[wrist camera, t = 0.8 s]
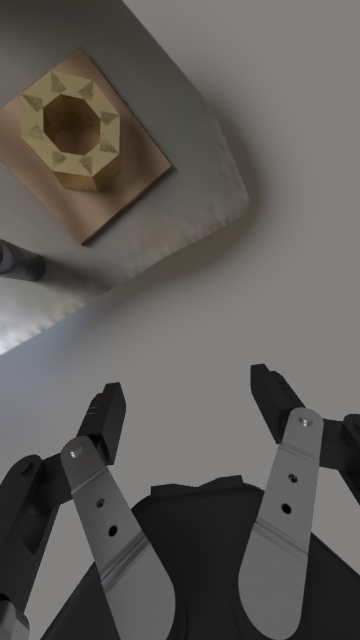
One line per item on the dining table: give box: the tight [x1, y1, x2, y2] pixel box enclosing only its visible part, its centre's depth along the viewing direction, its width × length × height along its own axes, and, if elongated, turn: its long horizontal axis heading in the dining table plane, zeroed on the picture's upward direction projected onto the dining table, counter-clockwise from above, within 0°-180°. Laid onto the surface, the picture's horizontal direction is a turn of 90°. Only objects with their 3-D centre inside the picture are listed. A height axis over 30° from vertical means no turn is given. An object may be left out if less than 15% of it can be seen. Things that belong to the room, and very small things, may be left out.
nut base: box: [0, 47, 171, 246], centre depth 26 cm, size 16×16×5 cm
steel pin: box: [0, 239, 45, 281], centre depth 23 cm, size 5×5×12 cm
